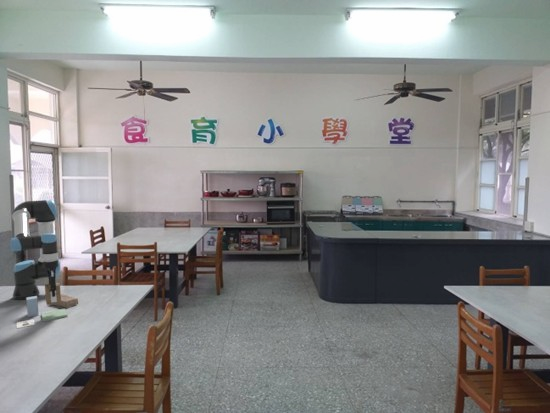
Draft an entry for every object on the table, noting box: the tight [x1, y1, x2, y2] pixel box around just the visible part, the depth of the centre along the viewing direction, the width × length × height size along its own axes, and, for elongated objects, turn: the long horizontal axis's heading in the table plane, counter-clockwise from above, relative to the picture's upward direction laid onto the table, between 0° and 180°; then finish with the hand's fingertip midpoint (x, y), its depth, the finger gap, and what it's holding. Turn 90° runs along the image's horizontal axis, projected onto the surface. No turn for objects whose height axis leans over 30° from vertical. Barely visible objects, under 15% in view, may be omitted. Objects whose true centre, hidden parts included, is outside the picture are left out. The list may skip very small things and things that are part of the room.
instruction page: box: [16, 318, 35, 329], centre depth 210 cm, size 10×8×1 cm
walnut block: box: [44, 282, 61, 306], centre depth 220 cm, size 7×7×10 cm
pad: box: [40, 308, 68, 322], centre depth 221 cm, size 12×12×1 cm
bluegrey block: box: [25, 296, 39, 318], centre depth 224 cm, size 5×5×10 cm
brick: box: [51, 293, 79, 309], centre depth 242 cm, size 17×8×5 cm, turn 62°
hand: (53, 300), depth 220 cm, fingers closed on walnut block, 7 cm apart
